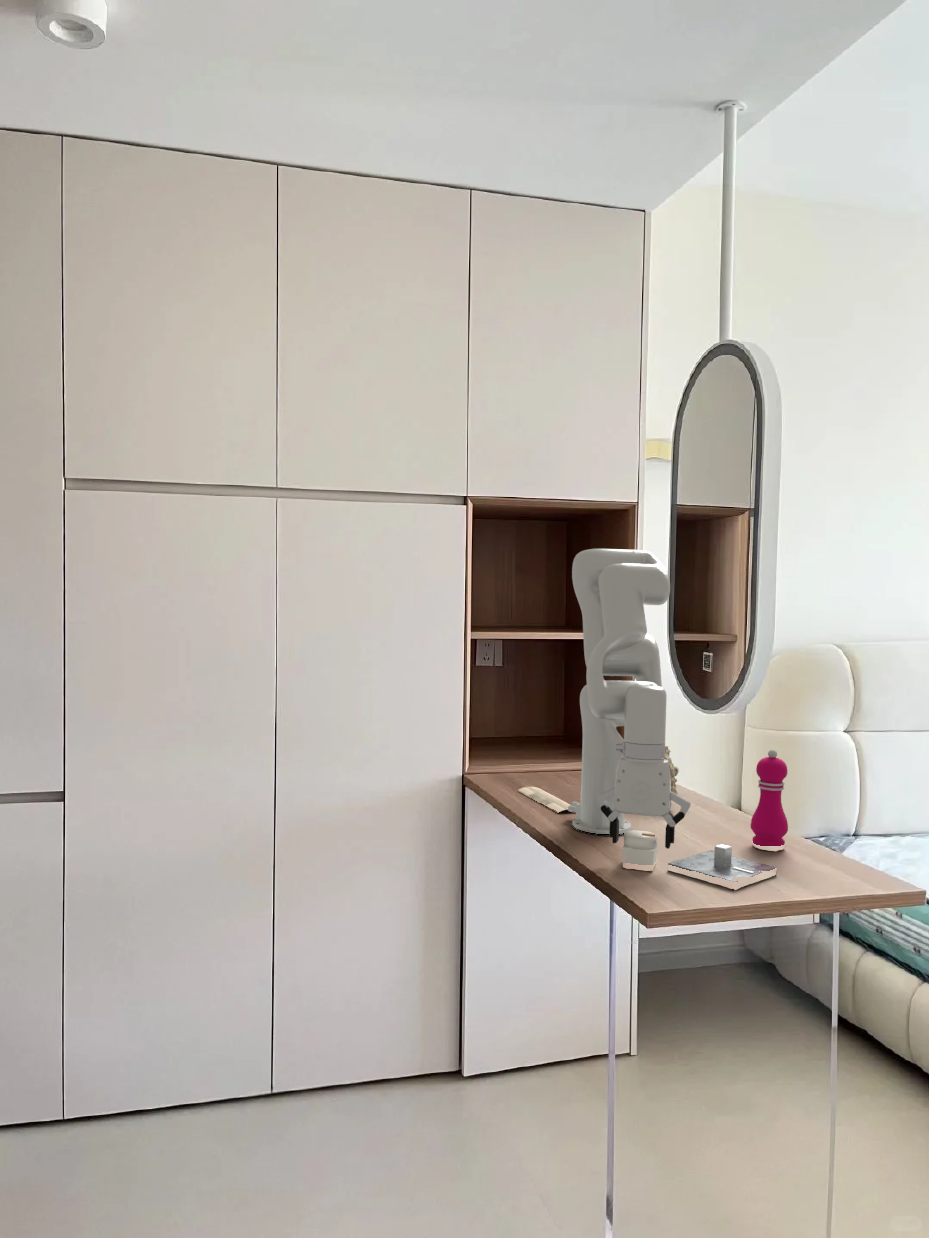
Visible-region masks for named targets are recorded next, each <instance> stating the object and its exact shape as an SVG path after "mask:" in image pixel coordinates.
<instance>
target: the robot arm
mask: <svg viewBox="0 0 929 1238" xmlns="http://www.w3.org/2000/svg"><path fill="white" fill-rule="evenodd" d="M571 569H572V570H571V574H572V575H571V580H572V585H573V589H574V593H575V597H576V598H577V602H578V604H579V607H580V610H581V615H582V632H583V635H582V636H583V652H584V661H585V666H586V673H585V674H586V676H585V677H586V679H585V680H586V684H585V685H584V686H583V688H582V689H581V691H580V693H579V707H580V708H579V709H580V715H581V726H582V748H581V751H582V752H581V773H580V774H581V777H580V778H581V779H580V780H581V781H580V802H578V801H575V800H574V801H572V802H571V803H570V806H569V807H568V810H567V811H568V812H571V813H575V814H576V815H575V818H574V819H573V820H572V823H571V824H572V825H573V826H574V827H575V828H578V829H580V830H583V831H587V832H590V833H596V834H595V835H597V834H609V835H608V836H609V838H612V839H611V840H612V844H617V843H618V841H619V838H620V836H619V834H620V835H624V834H623V833H625V832H626V831H632V829H633V824H632V823H631V822H630V821H628V820H627V819H626V815H635V816H647V817H662V818H663V819H664V821H665V822H666V823H667V824H666V826H665V835H664V836H665V839H664V841H665V843H664V847H665V848H666V849H667V850H668V849H670V847H671V844H674V843H675V831H676V829H675V826H676V825H677V824H678V823H679V822H681V821H682V820H683V819H684V818H685V816H686V814H687V813H688V811H689V809H690V808H691V805H692V804H691V801H689V800H687V799H686V798H683V797H681V796H680V795H678V794H675V793H673V792H672V791H671V779H670V769H669V763H668V760H665V746H666V731H667V730H666V724H667V691H666V689H665V688H664V687H662V686H663V683H662V673H661V671H662V669H661V668H662V667H661V658H660V657H661V656H660V650H659V645H658V643H657V641H656V639H655V638H654V636H652V635H651V634H649V633H648V629H647V621H646V615H645V613H646V612H645V607H644V606H660V605H661V606H662V605H663V604H665V603H666V602H667V601H668V599H669V597H670V593H671V583H670V578H669V577H670V576H669V574H668V571H667V568H666V567H665V566H664V564H663V563H662V562H661V561H660V560H659V559H658V558H657V557H656V556H655V555H654V554H653V553H652V552H650V551H648V550H642V549H641V550H640V549H622V548H621V549H620V548H619V549H618V548H591V549H590V548H589V549H584V550H581V551H580V552H578V553H577V554H575V557H574V558H573V561H572V567H571ZM604 676H606V677H607V676H609V677H615V676H616V677H634V679H635V680H617V679H616V680H611V679H608V680H605V678H604ZM617 727H623V729H624V730H623V732H624V733H623V734H624V735H623V736H622V735H621V734H620V733H619V732H618V729H617ZM672 802H674V803H675V804H677V805H678V806H680V809H679V811H678V812H677V813H676V814H675V815H673V813H672V812H671V811H670V810H671V806H672ZM572 825H571V826H572ZM573 826H572V827H573ZM574 827H573V828H574ZM575 828H574V829H575ZM590 833H589V834H590Z"/></svg>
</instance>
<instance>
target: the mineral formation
mask: <svg viewBox="0 0 929 1238" xmlns="http://www.w3.org/2000/svg"><path fill="white" fill-rule="evenodd" d="M671 752H672V751H671V750H670V749H669V746H667V745H665V760H668V763H669V769H670V779H671V791H672V792H673V793H675V794H677V795H678V791H677V785H676V783H677V781H678V779H677V778H676V777H677V776H678V774H679V772H680V771H679V768H678V767H677V766H674V763H673V762H672V761H673V760H672V758H671V757H670V753H671Z"/></svg>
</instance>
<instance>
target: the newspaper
mask: <svg viewBox="0 0 929 1238" xmlns="http://www.w3.org/2000/svg"><path fill="white" fill-rule="evenodd" d="M517 791H518V793H521V794H522V795H523V796H526V797H528V798H530V799H531V798H532V799H533V800H532V799H531V800H532V801H534V800H535V802H536V801H537V802H536V803H538V804H539V803H542V804H544V805H545V806H547V807H549V808H551V809H554V810H556V811H557V812H558V813H559V812H560V813H561V812H563V811H568V807H569V806H570V805H571V803H570V804H569V803H568V802H566V801H564V800H562V799H560V798H559V797H557V796H555V795H553V794H550V793H549V792H547V791H545V790H543V789H542V788H539V787H537V786H525V787H524V786H523V787H521V788H519V789H517ZM545 806H544V807H545Z"/></svg>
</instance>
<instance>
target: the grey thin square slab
mask: <svg viewBox="0 0 929 1238" xmlns="http://www.w3.org/2000/svg"><path fill="white" fill-rule="evenodd" d="M732 854H733V846H730V845H726V844H723V843H721V844H717V845H715V846H714V850H711V849H710V850H708V851H704V852H701V853H697V854H694V855H691V856H686V857H683V858H680V859H677V860H673V861H671V862H667V866H668V865H672V866H676V867H679V868H682V869H686V870H689V871H696V872H699V873H703V874H705V875H709V876H712V877H718V878H722V877H724V878H722V879H725V880H729V881H733V882H738V878H736V880H737V881H736V880H735V879H734V878H733V877H753V876H755V875H758V874H760V873H762V872H761V871H770V870H773V869H775V868H777V869H778V867H776V866H773V865H768V864H766V863H762V862H761V863H760V862H757V861H754V860H749V859H746V858H742V857H738V856H735V855H732ZM759 871H760V872H759ZM726 878H727V879H726ZM732 879H733V880H732Z"/></svg>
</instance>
